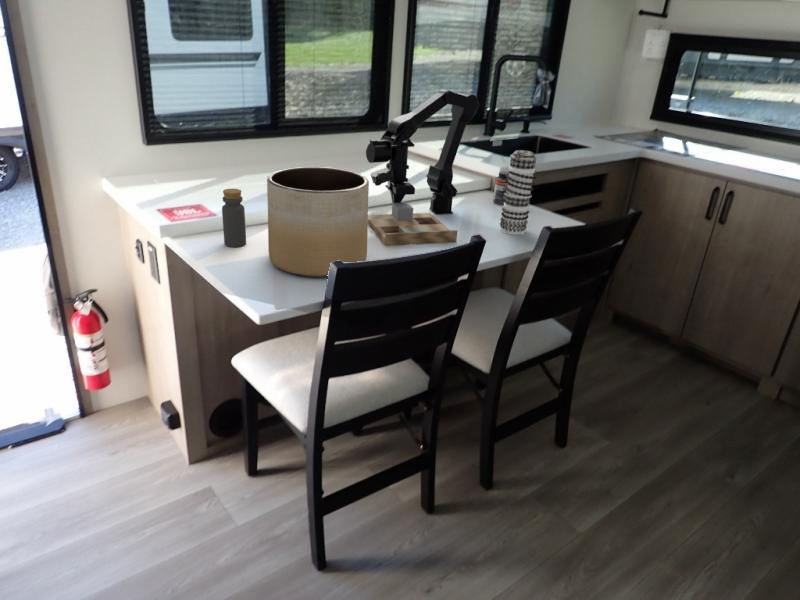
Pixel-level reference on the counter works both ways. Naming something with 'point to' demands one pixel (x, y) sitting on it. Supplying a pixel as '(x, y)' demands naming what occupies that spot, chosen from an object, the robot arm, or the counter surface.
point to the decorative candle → (518, 192)
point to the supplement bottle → (500, 188)
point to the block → (402, 211)
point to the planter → (316, 219)
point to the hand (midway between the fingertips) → (395, 208)
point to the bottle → (233, 218)
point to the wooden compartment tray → (411, 230)
